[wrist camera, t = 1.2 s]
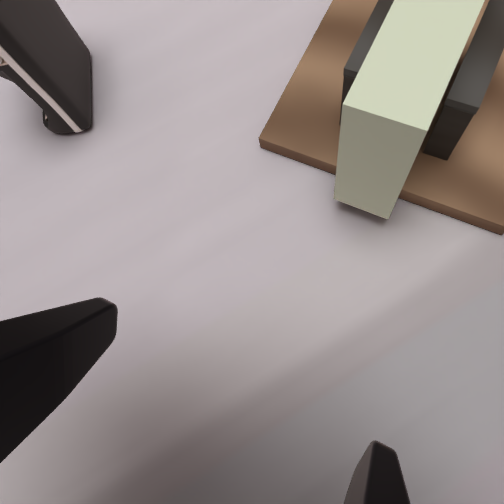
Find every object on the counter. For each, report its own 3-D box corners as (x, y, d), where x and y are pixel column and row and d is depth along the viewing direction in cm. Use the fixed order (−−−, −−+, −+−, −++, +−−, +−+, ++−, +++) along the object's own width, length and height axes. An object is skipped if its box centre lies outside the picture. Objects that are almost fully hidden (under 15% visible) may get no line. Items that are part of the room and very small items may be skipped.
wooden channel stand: (501, 235, 22) (559, 188, 16) (260, 147, 25) (246, 86, 20) (587, 3, 25) (658, -97, 20) (363, -45, 29) (374, -141, 23)
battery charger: (42, 62, 30) (-112, -120, 19) (92, 50, 30) (-36, -141, 19) (40, 145, 28) (-136, -6, 17) (94, 134, 27) (-50, -28, 17)
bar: (388, 219, 21) (427, 130, 14) (333, 198, 22) (342, 103, 15) (461, 53, 24) (528, -101, 16) (409, 39, 24) (450, -114, 17)
